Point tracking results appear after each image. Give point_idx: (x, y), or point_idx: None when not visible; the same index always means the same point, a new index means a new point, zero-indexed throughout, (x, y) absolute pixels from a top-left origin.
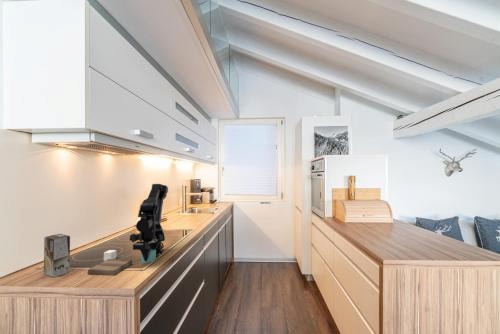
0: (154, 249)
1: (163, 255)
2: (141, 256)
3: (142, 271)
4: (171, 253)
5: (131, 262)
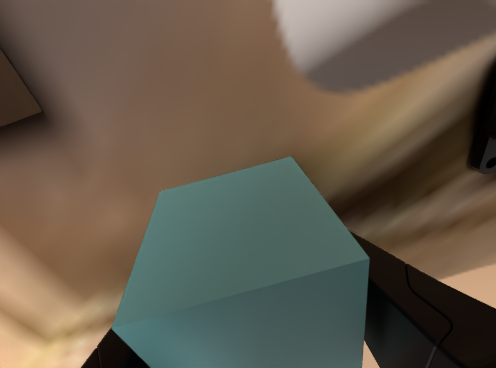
0: (359, 361)
1: (415, 238)
2: (141, 257)
3: (19, 347)
4: (464, 259)
5: (13, 120)
